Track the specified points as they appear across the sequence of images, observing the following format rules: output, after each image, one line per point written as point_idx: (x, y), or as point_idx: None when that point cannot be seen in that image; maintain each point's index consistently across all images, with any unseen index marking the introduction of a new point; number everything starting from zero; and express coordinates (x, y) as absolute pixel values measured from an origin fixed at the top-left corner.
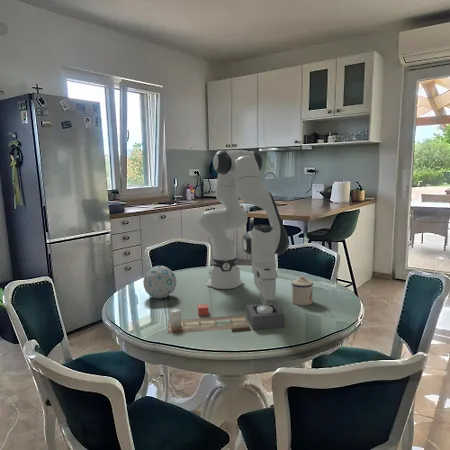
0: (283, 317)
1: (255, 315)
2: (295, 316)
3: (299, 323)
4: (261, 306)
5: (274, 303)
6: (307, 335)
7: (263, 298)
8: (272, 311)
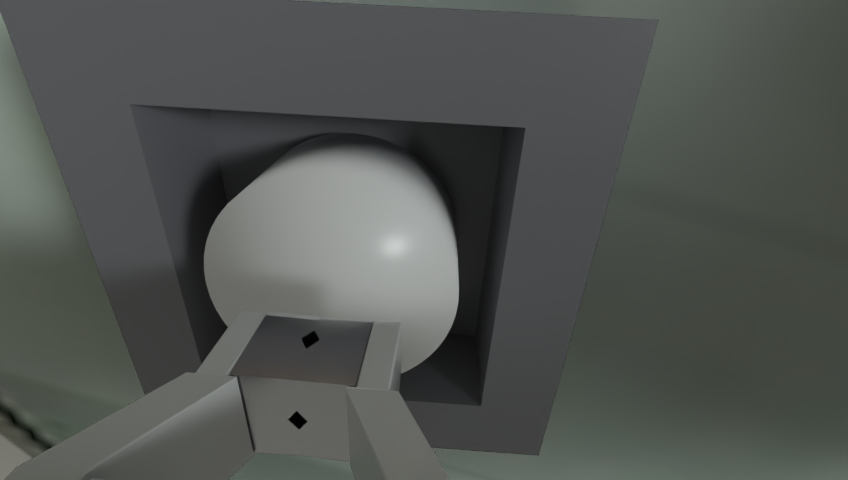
0: None
1: (63, 62)
2: (431, 447)
3: None
4: (422, 269)
5: (525, 437)
6: (81, 405)
7: (121, 432)
8: None
